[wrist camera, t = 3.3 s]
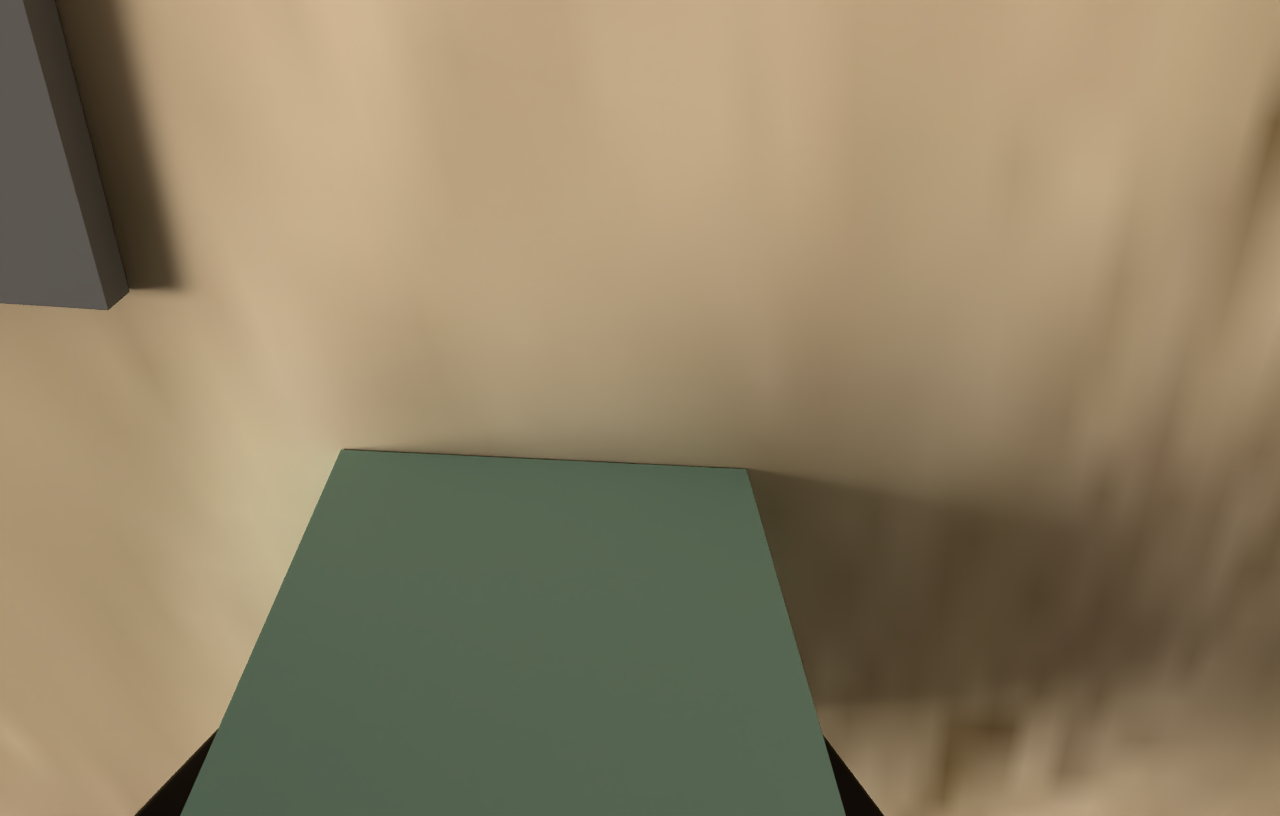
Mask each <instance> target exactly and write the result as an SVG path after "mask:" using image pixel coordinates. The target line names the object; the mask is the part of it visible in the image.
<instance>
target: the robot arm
mask: <svg viewBox="0 0 1280 816" xmlns="http://www.w3.org/2000/svg"><path fill="white" fill-rule="evenodd" d="M218 729H219V728H218ZM218 729H217V730H216V731H215V732H214V733H213V734H212V736H211V737H210V738H209V739H208V740H207V741H206V742H205V743H204V744H203V745H202V746H201V747H200V748H199V749H198V750H197V751H196V752H195V753H194V754H193V755H192V756H191V757H190V758H189V759H188V760H187V761H186V762H185V764H184V765H183V766H182V767H181V768H180V769H179V770H178V771H177V772H176V773H175V774H174V775H173V776H172V777H171V778H170V779H169V780H168V781H167V782H166V783H165V784H164V785H163V786H162V787H161V788H160V789H159V791H158V792H157V793H156V794H155V795H154V796H153V797H152V798H151V799H150V800H149V801H148V802H147V803H146V804H145V805H144V806H143V807H142V808H141V809H140V810H139V811H138V812H137V813H136V814H135V815H134V816H180V815H181V813H182V811H183V808H184V806H185V804H186V802H187V799H188V797H189V795H190V793H191V790H192V788H193V786H194V783H195V781H196V779H197V777H198V774H199V772H200V770H201V767H202V765H203V763H204V761H205V758H206V756H207V754H208V752H209V749H210V747H211V745H212V742H213V740H214V738H215V736H216V733H217V731H218ZM822 735H823V734H822ZM823 738H824V741H825V745H826V748H827V752H828V755H829V759H830V762H831V766H832V769H833V773H834V776H835V780H836V783H837V787H838V790H839V794H840V797H841V801H842V804H843V808H844V811H845V815H846V816H884V815H883V814H882V812H881V811H880V810H879V808H878V807H877V806H876V804H875V803H874V802H873V800H872V799H871V798H870V796H869V795H868V794H867V792H866V791H865V790H864V788H863V787H862V786H861V784H860V783H859V782H858V780H857V779H856V778H855V777H854V775H853V774H852V773H851V771H850V770H849V769H848V767H847V766H846V765H845V763H844V762H843V761H842V759H841V758H840V757H839V755H838V754H837V753H836V751H835V750H834V749H833V747H832V746H831V745H830V743H829V742H828V741H827V739H826V738H825V737H824V735H823Z"/></svg>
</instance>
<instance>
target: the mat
mask: <svg viewBox="0 0 1280 816" xmlns="http://www.w3.org/2000/svg"><path fill="white" fill-rule="evenodd" d="M127 293H129V288H128V284H127V280H126V276H125V272H124V268H123V264H122V261H121V257H120V253H119V249H118V245H117V241H116V237H115V233H114V229H113V226H112V222H111V218H110V214H109V210H108V206H107V202H106V198H105V194H104V191H103V187H102V183H101V179H100V175H99V171H98V167H97V163H96V159H95V156H94V152H93V148H92V144H91V140H90V136H89V132H88V128H87V124H86V121H85V117H84V113H83V109H82V105H81V101H80V97H79V93H78V89H77V86H76V82H75V78H74V74H73V70H72V66H71V62H70V58H69V54H68V51H67V47H66V43H65V39H64V35H63V31H62V27H61V23H60V19H59V16H58V12H57V8H56V4H55V0H0V303H6V304H22V305H37V306H53V307H68V308H84V309H99V310H109V309H110V308H111V307H112V306H113V305H115V304H116V303H117V302H118V301H119V300H120V299H122V298H123V297H124V296H125V295H126V294H127Z"/></svg>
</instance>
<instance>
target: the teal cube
mask: <svg viewBox="0 0 1280 816" xmlns="http://www.w3.org/2000/svg"><path fill="white" fill-rule="evenodd" d="M180 816H846V815H845V811H844V808H843V804H842V801H841V797H840V794H839V790H838V787H837V783H836V780H835V776H834V773H833V769H832V766H831V762H830V759H829V755H828V752H827V748H826V745H825V741H824V738H823V735H822V731H821V728H820V724H819V721H818V717H817V714H816V710H815V707H814V703H813V700H812V696H811V693H810V689H809V686H808V682H807V679H806V675H805V672H804V668H803V665H802V661H801V658H800V654H799V651H798V647H797V644H796V640H795V637H794V634H793V630H792V627H791V623H790V620H789V616H788V613H787V609H786V606H785V602H784V599H783V595H782V592H781V588H780V585H779V581H778V578H777V574H776V571H775V567H774V564H773V560H772V557H771V553H770V550H769V546H768V543H767V539H766V536H765V532H764V529H763V526H762V522H761V519H760V515H759V512H758V508H757V505H756V501H755V498H754V494H753V491H752V487H751V484H750V480H749V477H748V473H747V470H746V469H732V468H711V467H690V466H669V465H648V464H627V463H607V462H586V461H565V460H544V459H523V458H502V457H482V456H461V455H440V454H419V453H398V452H378V451H357V450H341V451H340V453H339V455H338V458H337V460H336V462H335V465H334V467H333V469H332V471H331V474H330V476H329V478H328V481H327V483H326V485H325V487H324V490H323V492H322V494H321V496H320V499H319V501H318V503H317V506H316V508H315V510H314V512H313V515H312V517H311V519H310V521H309V524H308V526H307V528H306V531H305V533H304V535H303V537H302V540H301V542H300V544H299V547H298V549H297V551H296V553H295V556H294V558H293V560H292V562H291V565H290V567H289V569H288V572H287V574H286V576H285V578H284V581H283V583H282V585H281V588H280V590H279V592H278V594H277V597H276V599H275V601H274V603H273V606H272V608H271V610H270V613H269V615H268V617H267V619H266V622H265V624H264V626H263V629H262V631H261V633H260V635H259V638H258V640H257V642H256V644H255V647H254V649H253V651H252V654H251V656H250V658H249V660H248V663H247V665H246V667H245V670H244V672H243V674H242V676H241V679H240V681H239V683H238V685H237V688H236V690H235V692H234V695H233V697H232V699H231V701H230V704H229V706H228V708H227V711H226V713H225V715H224V717H223V720H222V722H221V724H220V726H219V729H218V731H217V733H216V736H215V738H214V740H213V742H212V745H211V747H210V749H209V752H208V754H207V756H206V758H205V761H204V763H203V765H202V767H201V770H200V772H199V774H198V777H197V779H196V781H195V783H194V786H193V788H192V790H191V793H190V795H189V797H188V799H187V802H186V804H185V806H184V808H183V811H182V813H181V815H180Z"/></svg>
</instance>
